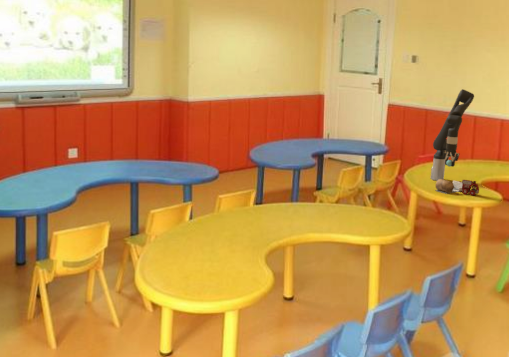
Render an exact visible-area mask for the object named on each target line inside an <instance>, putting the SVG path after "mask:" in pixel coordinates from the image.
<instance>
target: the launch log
mask: <svg viewBox="0 0 509 357" xmlns="http://www.w3.org/2000/svg"><path fill="white" fill-rule="evenodd" d="M435 188H436V189H435V190H441V191H445V192H448V194H451V193H450V192H452V190H453V188H454V184H453V181H449V180H445V179H444V180H442V179H439V180H438V181H436V183H435Z"/></svg>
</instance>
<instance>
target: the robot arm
mask: <svg viewBox="0 0 509 357" xmlns="http://www.w3.org/2000/svg"><path fill="white" fill-rule="evenodd" d="M474 98H475V94H474V93H473V92H470V91H469V90H466V89H461V90H460V91H459V93H458V94H457V97H456V99H455V102H454V104H453V106H452V108H451V110H450V111H449V113H448V115H447V117H446V119H445V121H444V122H443V125H442V126H441V129H440V131H439V133H438V134H437V136H436V137H435V139H434V140H433V143H432V147H433V149H434V150H436V152H435V153H434V154H433V161H432V167H431V170H430V171H431V172H430V179H431V180H432V181H436V182H437V181H438V180H439V179H442V180H445V179H444V178H445V177H444V176H445V169H446V166H447V164H446V162H447V161H448V160H452V164H451V166H450V167H454V166H455V164H456V162H457V161H458V160H459V157H460V152H459V153H458V152H457V150H458V141H459V139H458V138H459V131H460V127H461V126H462V123H463V118H462V117H463V115H464V114H465V111H466V110H467V109H468V107H470V105H471V103H472V102H473V100H474ZM460 103H462V104H460ZM449 158H451V159H449Z"/></svg>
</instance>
